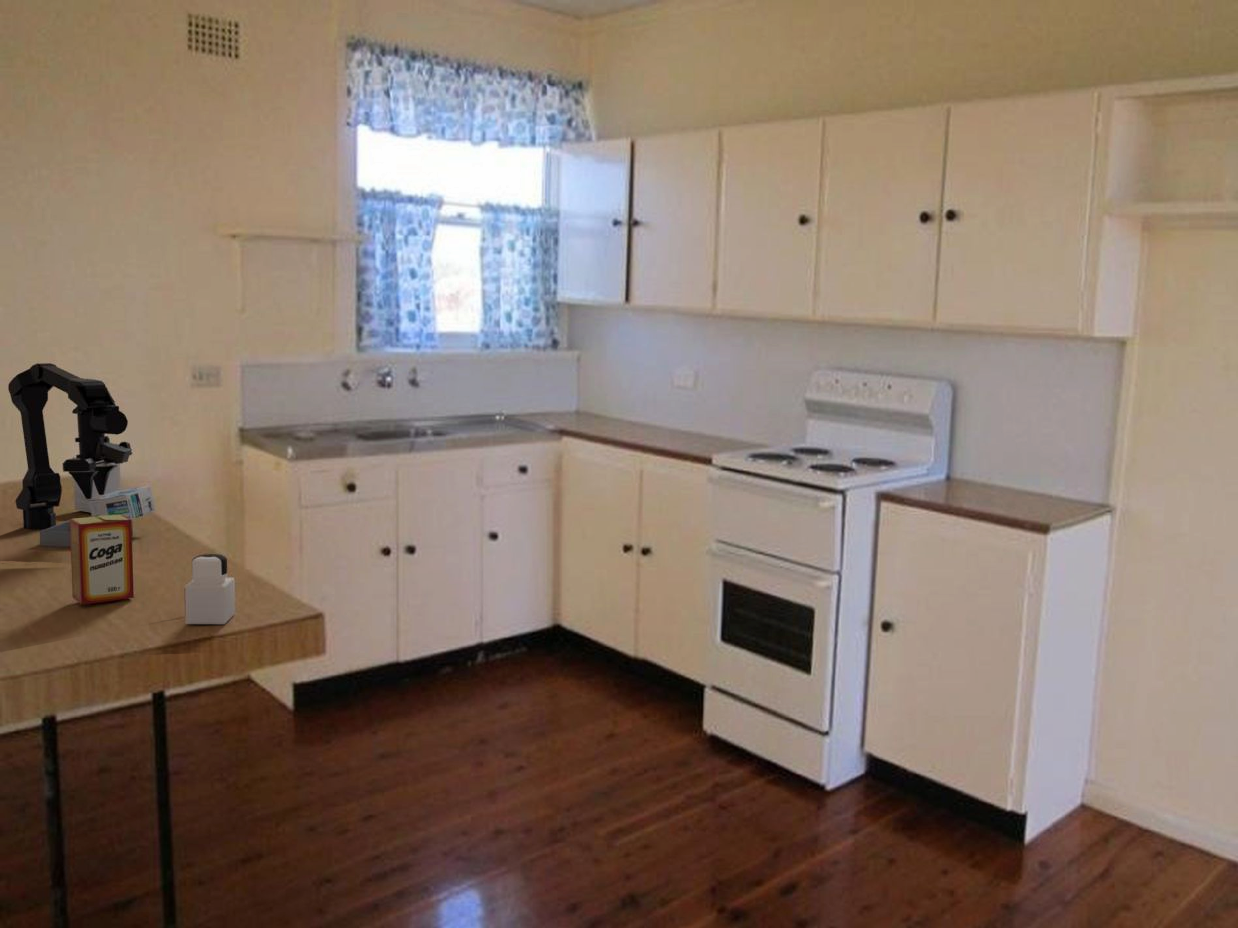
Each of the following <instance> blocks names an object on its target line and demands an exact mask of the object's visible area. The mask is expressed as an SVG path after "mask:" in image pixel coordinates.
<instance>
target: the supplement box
mask: <svg viewBox="0 0 1238 928" xmlns="http://www.w3.org/2000/svg"><path fill="white" fill-rule="evenodd" d="M72 458H76V456H72ZM112 465H117V467H116V468H114V469H113V470H112V471H111V472H110V474H109V477H108V481H107V485H106V489H105V493H104V495H107V494H110V493H112V492H115V491H121V490H122V487H121V486H122V485H121V484H122V483H121V464H120V463H119V464H115V463H112ZM72 478H73V477H72ZM104 495H99V494H98V491H97V489H96V486H95V483H94V481H93V488H92V498H91V499H86V497H85V496H84V494H83V492H82V491H81V489H80V487H79V486H78V484H77V483H76V481H75V480H74V478H73V497H74V498H73V500H74V510H75V511H80V512H85V513H90V514H91V511H90V507H89V503H88V501H89V500H92V499H95V498H98V497H101V496H104Z"/></svg>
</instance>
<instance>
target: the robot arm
mask: <svg viewBox="0 0 1238 928" xmlns="http://www.w3.org/2000/svg"><path fill="white" fill-rule="evenodd" d="M7 387H8V388H7V390H8V393H9V394H10V395H9V397H10V399H11V402H12V404H13V405H14V406H15V408H16V409H17V410H18V411H19V413H20V416H21V417H20V418H21V419H20V420H21V425H22V433H23V434H22V435H23V440H24V448H25V455H26V463H27V465H26V466H27V470H26V473H25V474H24V476H23V479H22V489H21V490H20V492H19V494H18V496H17V497H16V499H15V502H14V503H15V505H16V509H18V510H22V519H23V520H22V524H23V529H27V530H45V529H47V528H50V527H53V526H55V525H57V520H56V518H57V516H56V515H57V514H56V512H55V510H54V507H56V508H57V507H60V502H61V499H62V494H63V493H62V492H63V486H62V483H61V475H60V473H59V472H55V471H54V470H53V469H52V468H51V464H50V456H49V450H48V442H47V441H48V440H47V432H46V427H45V419H44V418H45V417H44V411H43V410H44V409H45V407H46V404H47V402H48V401H49V392H50V391H51V389H53V388H56V389H57V390H60V391H62V392H64V393H66V394H67V398H68V399H69V400H70V401H71V402H73V404H74V405H76V407H75V408H73V410H72V411H71V413H72V414H75V415H76V417H77V431H78V432H77V433H78V437H74V443H78V450H79V451H78V452H79V453H78V454H76V455H75V457H76V458H73V457H72V458H68V459H65V460H64V461H63V463H62V472H65V473H66V472H67V473H68V474H69V475H71V476H72V478H74V480H75V481H76V483H77V484H78V486H79V487H80V489H81V491H82V492H83V494H84V496H85V497H86V499H91V498H92V488H93V481H94V483H95V486H96V489H97V491H98V494H99V495H104V493H105V489H106V485H107V481H108V477H109V474H110V472H111V471H112V470H113V469H114V468H116V467H117V465H112V463H115V464H119V463H120V465H122V464H123V463H128V461H129V458H130V456H132V455H133V452H132V451H133V448H131V443H130V442H127V441H121V442H120V443H119V444H118V443H113V442H111V441H110V437H109V436H108V435H114V436H115V435H120V434H123V433H124V432H125V431H126V430H127V428H128V424H129V423H128V422H129V421H128V419H127V416H126V415H125V413H124V412H122V411H120V406H119V405H116V403H115V402H116V401H115V400H114V398H113V397H112V395H111V393H110V391H109V389H108V387H107V386H106V384H105V382H103V380H99V379H94V378H82V377H80V376H78V375H75V374H73V373H71V372H68V371H67V370H65V369H62V368H60V367H58V366H57V365H56V364H55V363H50V362H47V363H46V362H45V363H35V364H33V365H31V367H30V368H29V369H26V370H24V371H22V372H20V373H18V374H16V375H15V376H14V377H13V378H12V379H11V381H9V383H8V386H7ZM105 434H106V435H105ZM74 480H73V481H74Z"/></svg>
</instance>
